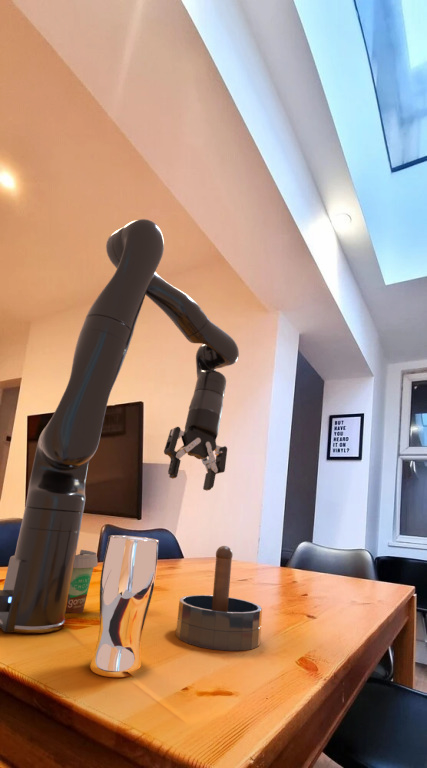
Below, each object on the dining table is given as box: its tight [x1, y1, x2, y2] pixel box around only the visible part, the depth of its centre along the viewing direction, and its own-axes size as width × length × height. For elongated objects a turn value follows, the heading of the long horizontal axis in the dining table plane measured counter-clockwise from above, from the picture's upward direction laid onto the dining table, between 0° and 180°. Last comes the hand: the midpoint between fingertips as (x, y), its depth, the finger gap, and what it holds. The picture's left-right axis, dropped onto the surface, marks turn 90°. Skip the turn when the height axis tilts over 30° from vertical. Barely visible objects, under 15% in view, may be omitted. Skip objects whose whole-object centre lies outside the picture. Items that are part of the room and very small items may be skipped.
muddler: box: [212, 545, 234, 612], centre depth 69 cm, size 4×4×14 cm
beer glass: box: [89, 534, 160, 678], centre depth 54 cm, size 7×7×15 cm
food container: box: [65, 549, 99, 615], centre depth 76 cm, size 12×6×10 cm, turn 167°
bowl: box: [175, 594, 263, 652], centre depth 67 cm, size 13×13×6 cm
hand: (190, 483), depth 89 cm, fingers open, 8 cm apart
